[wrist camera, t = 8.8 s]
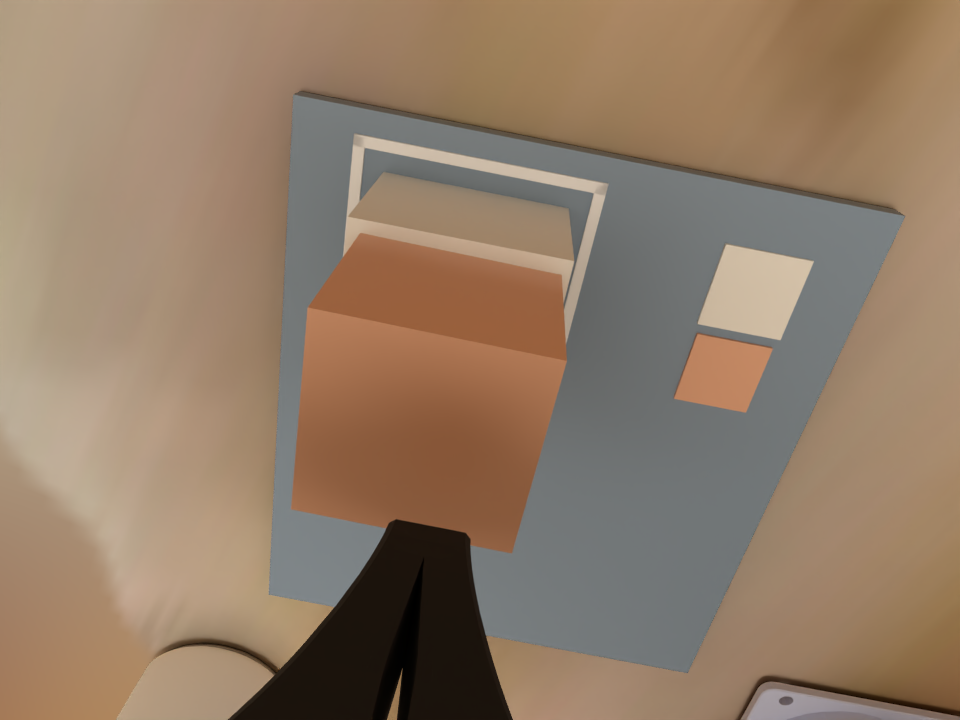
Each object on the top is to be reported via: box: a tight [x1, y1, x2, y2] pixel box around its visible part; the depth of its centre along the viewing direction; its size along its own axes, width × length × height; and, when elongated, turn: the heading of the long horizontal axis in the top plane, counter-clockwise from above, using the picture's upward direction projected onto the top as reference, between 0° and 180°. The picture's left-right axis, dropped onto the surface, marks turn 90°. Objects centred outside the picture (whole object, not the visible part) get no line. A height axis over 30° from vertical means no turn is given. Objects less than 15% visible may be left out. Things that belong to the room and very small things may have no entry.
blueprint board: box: [269, 91, 905, 673], centre depth 23 cm, size 16×18×1 cm
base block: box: [344, 172, 574, 303], centre depth 19 cm, size 5×5×4 cm
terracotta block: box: [291, 233, 567, 553], centre depth 15 cm, size 4×4×4 cm
